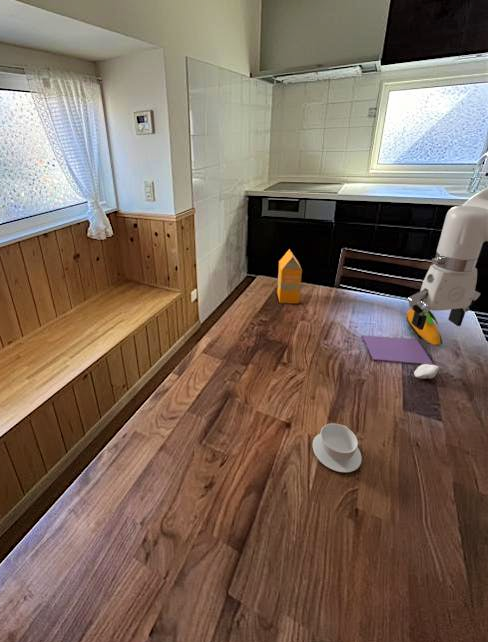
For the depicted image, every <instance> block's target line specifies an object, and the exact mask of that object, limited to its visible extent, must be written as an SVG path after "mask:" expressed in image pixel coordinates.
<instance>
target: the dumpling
mask: <svg viewBox="0 0 488 642" xmlns="http://www.w3.org/2000/svg"><path fill="white" fill-rule="evenodd" d="M439 370H440V367H439V366H438V365H435V364H433V365H430V364H419V366H417V368H416V369H415V370H414V371H413V375H414V377H415V378H417V379H422V380H425V379H429V380H430V379H433V378H435V377H436V376H437V374H438V371H439Z"/></svg>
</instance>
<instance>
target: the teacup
mask: <svg viewBox="0 0 488 642" xmlns="http://www.w3.org/2000/svg"><path fill="white" fill-rule="evenodd" d="M358 446H359V442H358V438H357V436H356V435H355V433H354V432H353V431H352V430H351V429H350V428H348V426H346V425H343V424H339V423H327V424H325V425H324V426H323V427H322V428H321V430H320V433H317V435H316V436H315V437H314V438H313V440H312V451H313V453H314V455H315V456H316V459H317V460H318V461H319V462H320V463H321V464H323V465H324V466H325V467H327V468H328V469H330V470H333V471H335V472H339V473H351V472H354V471H356V470H358V468H359V467H360V466H361V464H362V460H363V459H362V458H363V457H362V454H361V453H362V452H361V451H360V448H359V447H358Z"/></svg>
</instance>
